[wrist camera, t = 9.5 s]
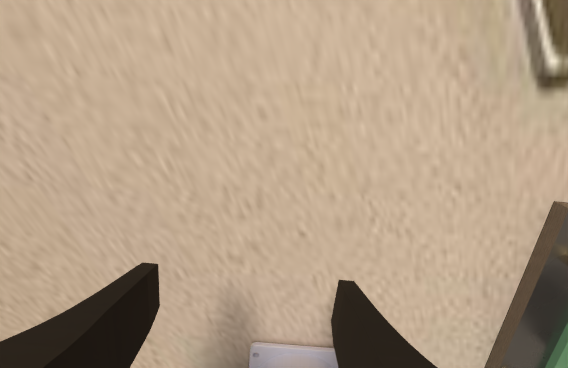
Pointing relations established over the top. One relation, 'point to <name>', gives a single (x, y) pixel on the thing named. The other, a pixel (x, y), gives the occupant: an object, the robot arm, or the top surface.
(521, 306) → the chassis plate
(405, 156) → the top surface
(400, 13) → the top surface
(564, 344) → the board
